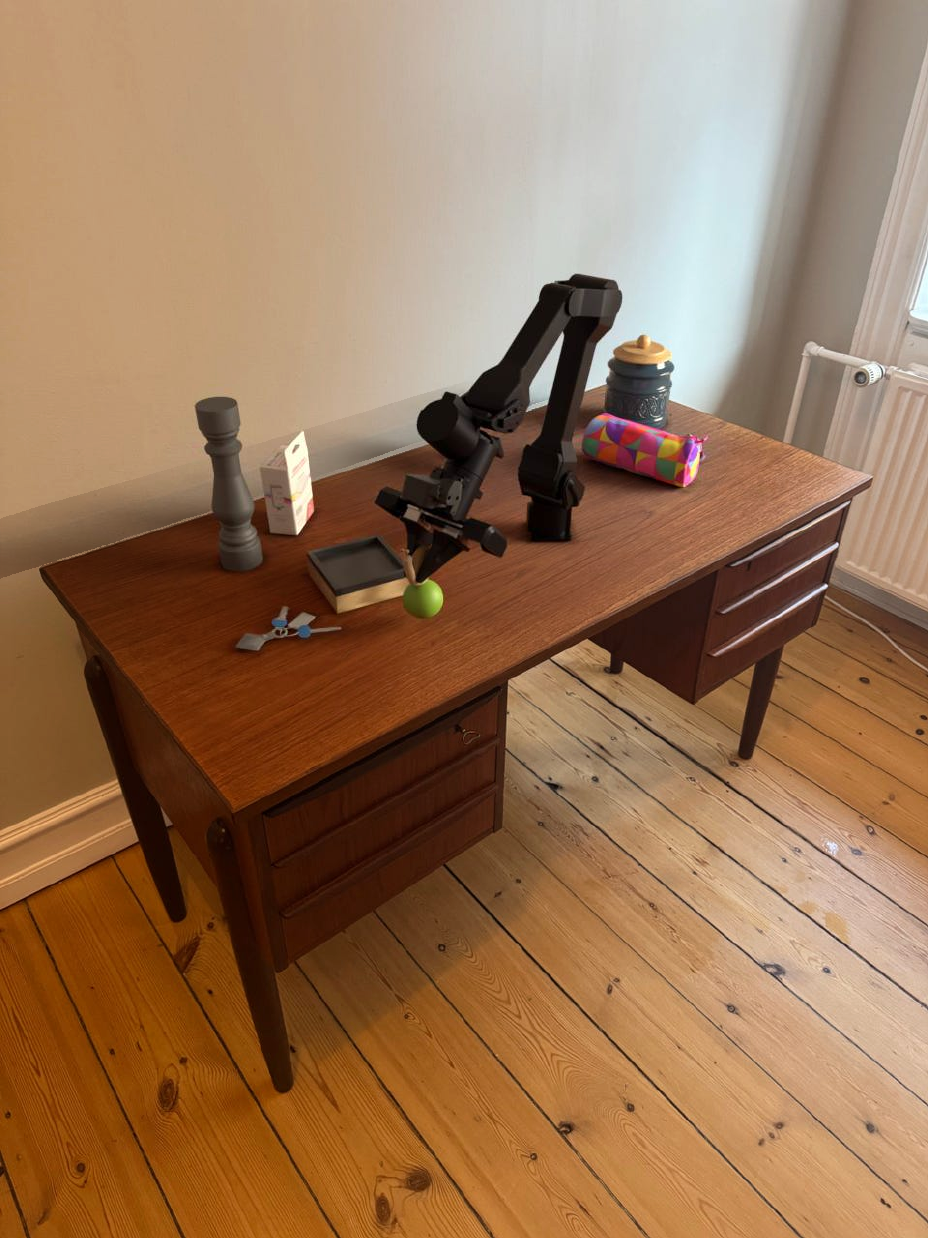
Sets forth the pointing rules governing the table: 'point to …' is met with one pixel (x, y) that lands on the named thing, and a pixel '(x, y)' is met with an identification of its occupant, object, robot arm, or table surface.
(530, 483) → the robot arm
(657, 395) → the canister
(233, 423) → the candle holder
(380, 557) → the square tray
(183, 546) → the table surface
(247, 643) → the key chain
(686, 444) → the pencil case
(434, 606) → the green two-tone figurine
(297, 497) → the ink cartridge box
